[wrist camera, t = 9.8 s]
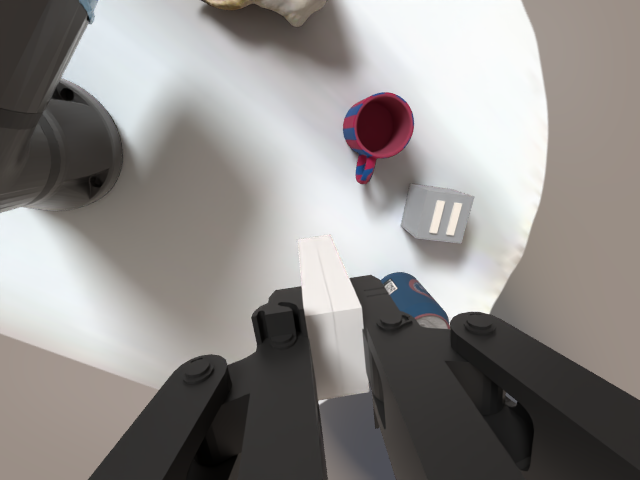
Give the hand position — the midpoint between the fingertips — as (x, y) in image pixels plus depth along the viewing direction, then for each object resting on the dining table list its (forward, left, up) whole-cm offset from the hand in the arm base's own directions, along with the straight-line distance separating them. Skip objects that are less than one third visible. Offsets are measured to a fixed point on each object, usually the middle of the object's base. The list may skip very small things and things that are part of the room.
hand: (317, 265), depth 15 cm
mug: (+9, +4, -30) cm, 31 cm away
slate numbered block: (+17, -6, -30) cm, 35 cm away
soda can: (+12, -18, -30) cm, 37 cm away
